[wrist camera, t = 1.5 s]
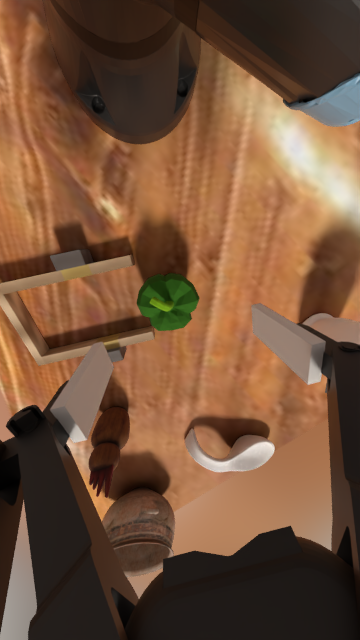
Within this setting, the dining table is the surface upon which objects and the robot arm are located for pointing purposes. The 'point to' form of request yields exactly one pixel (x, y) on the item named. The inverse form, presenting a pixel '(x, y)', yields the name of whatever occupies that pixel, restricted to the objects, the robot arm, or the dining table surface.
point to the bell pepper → (167, 301)
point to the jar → (335, 327)
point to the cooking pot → (140, 531)
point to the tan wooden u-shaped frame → (66, 269)
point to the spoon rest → (233, 453)
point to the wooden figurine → (108, 446)
